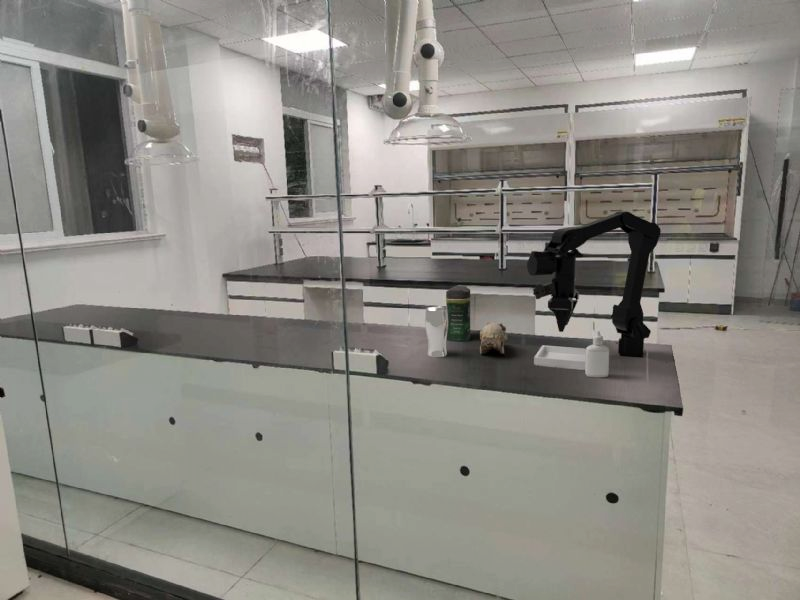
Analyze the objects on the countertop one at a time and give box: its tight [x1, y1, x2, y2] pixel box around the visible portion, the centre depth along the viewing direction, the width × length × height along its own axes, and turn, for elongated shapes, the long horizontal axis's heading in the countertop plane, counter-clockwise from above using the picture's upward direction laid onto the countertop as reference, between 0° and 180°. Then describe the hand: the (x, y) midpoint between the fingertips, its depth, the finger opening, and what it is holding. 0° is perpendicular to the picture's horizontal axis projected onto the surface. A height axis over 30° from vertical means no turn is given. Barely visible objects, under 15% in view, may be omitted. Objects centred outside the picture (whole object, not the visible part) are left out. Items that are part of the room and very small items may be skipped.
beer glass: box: [424, 305, 448, 358], centre depth 163 cm, size 7×7×15 cm
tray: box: [533, 344, 586, 371], centre depth 156 cm, size 14×14×2 cm
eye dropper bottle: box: [584, 330, 610, 379], centre depth 141 cm, size 4×6×12 cm
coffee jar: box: [445, 285, 471, 343], centre depth 182 cm, size 10×8×19 cm
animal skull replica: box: [479, 322, 509, 356], centre depth 166 cm, size 8×17×10 cm, turn 160°
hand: (563, 328), depth 154 cm, fingers open, 9 cm apart
